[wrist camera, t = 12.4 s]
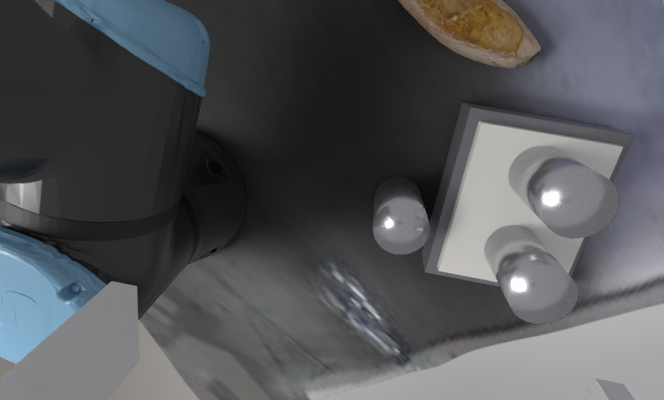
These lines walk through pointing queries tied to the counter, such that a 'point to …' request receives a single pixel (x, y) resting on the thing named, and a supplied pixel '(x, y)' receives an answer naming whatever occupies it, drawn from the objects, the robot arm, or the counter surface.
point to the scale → (505, 186)
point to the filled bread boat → (477, 30)
